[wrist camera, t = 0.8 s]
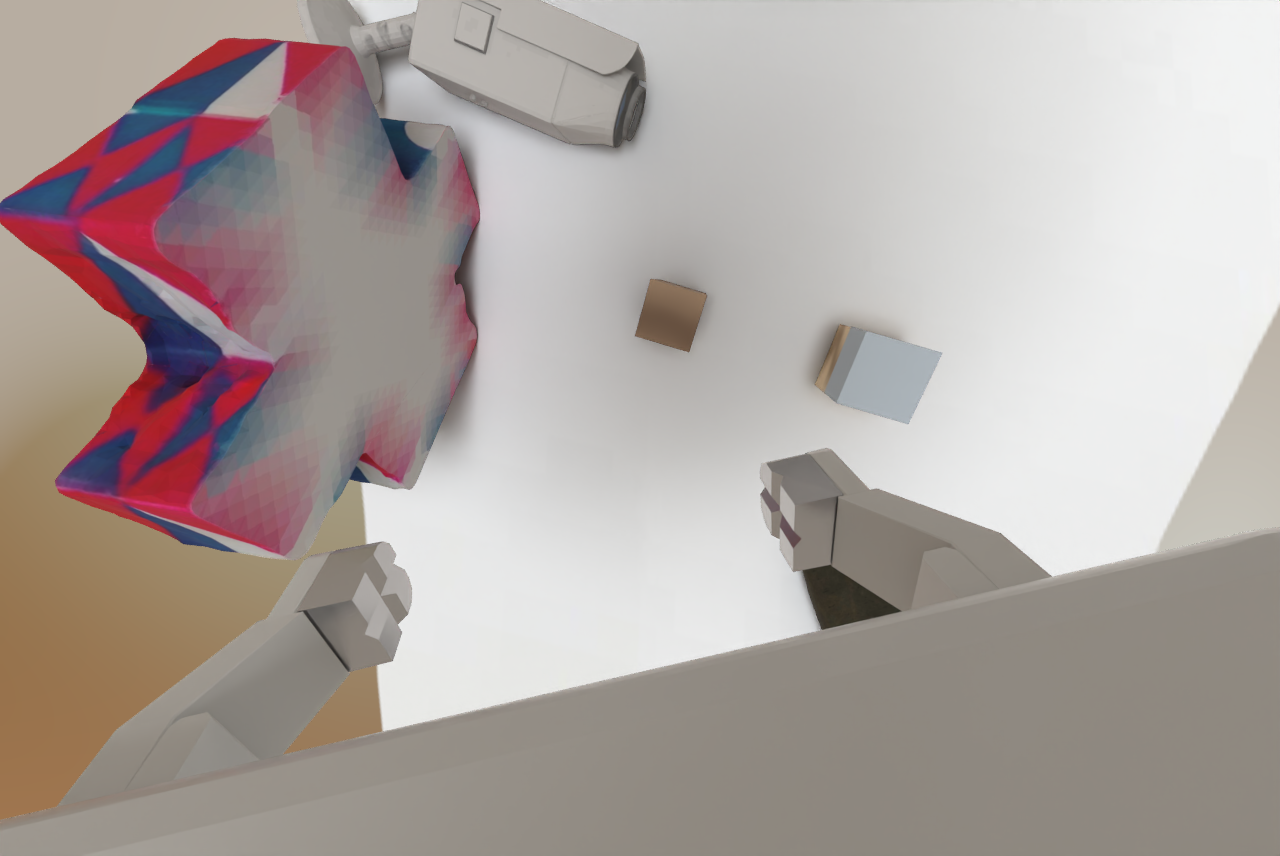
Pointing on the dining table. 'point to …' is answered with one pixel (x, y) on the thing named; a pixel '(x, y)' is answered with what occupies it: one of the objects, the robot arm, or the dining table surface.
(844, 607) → the stone tool
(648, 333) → the walnut pillar
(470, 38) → the security camera
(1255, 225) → the dining table surface
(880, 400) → the slate block
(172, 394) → the sculpture
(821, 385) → the oak block
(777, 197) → the dining table surface
